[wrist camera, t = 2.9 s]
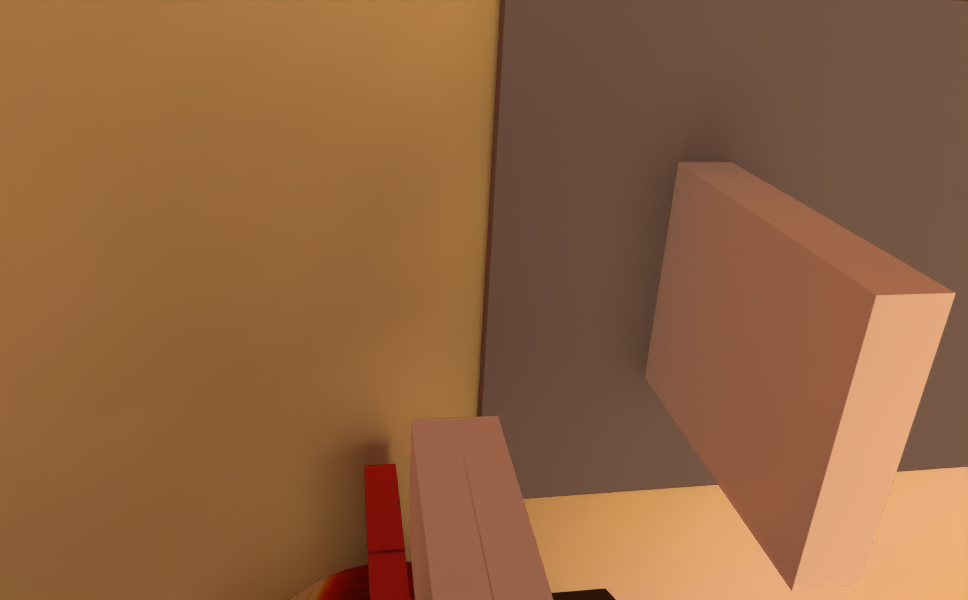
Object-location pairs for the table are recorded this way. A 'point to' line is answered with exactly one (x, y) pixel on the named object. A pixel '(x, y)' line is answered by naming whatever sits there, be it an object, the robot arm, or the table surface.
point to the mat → (649, 193)
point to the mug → (374, 549)
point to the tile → (790, 365)
